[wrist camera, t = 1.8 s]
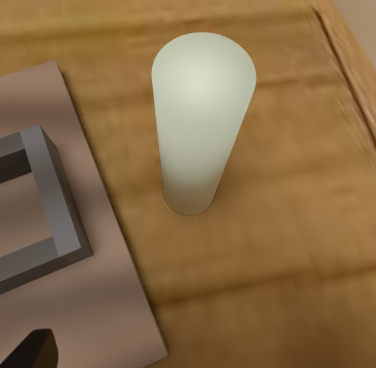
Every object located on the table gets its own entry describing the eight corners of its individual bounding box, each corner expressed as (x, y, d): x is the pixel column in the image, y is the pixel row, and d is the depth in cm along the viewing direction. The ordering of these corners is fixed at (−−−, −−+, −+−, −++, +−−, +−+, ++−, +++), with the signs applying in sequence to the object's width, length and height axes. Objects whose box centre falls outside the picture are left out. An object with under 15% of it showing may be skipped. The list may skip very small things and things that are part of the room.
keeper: (168, 351, 20) (166, 365, 16) (-34, 451, 18) (-97, 496, 14) (61, 72, 27) (40, 29, 22) (-98, 123, 25) (-154, 86, 20)
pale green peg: (190, 226, 23) (209, 140, 11) (152, 192, 24) (129, 75, 11) (224, 189, 24) (276, 72, 12) (187, 158, 25) (199, 16, 12)
